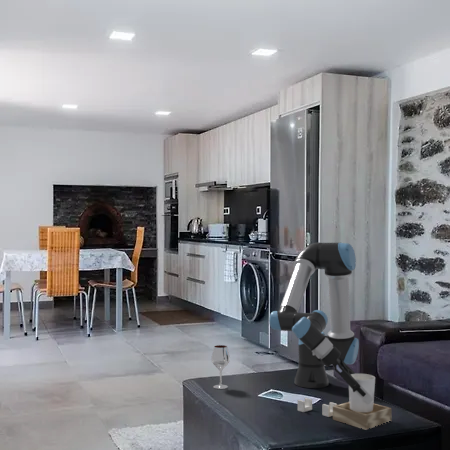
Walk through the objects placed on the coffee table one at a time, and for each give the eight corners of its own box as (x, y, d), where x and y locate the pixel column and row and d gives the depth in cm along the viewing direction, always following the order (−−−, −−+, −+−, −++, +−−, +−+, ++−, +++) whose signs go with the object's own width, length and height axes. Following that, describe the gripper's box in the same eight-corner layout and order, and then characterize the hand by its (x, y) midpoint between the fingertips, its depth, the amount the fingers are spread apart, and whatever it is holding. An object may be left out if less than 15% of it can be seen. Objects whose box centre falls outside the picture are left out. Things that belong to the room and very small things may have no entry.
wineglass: (218, 383, 277) (218, 344, 277) (233, 386, 272) (233, 346, 272) (207, 387, 270) (207, 346, 270) (222, 390, 265) (222, 349, 265)
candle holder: (375, 414, 219) (375, 380, 219) (347, 412, 221) (347, 379, 221) (374, 406, 228) (374, 374, 228) (347, 404, 230) (347, 372, 230)
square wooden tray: (358, 411, 235) (358, 399, 235) (391, 421, 224) (391, 408, 224) (332, 419, 226) (332, 406, 226) (365, 429, 214) (365, 416, 214)
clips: (311, 406, 242) (311, 396, 242) (337, 414, 232) (337, 403, 232) (297, 410, 237) (297, 400, 237) (323, 418, 227) (323, 407, 227)
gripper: (320, 353, 238) (362, 396, 235) (318, 366, 216) (364, 413, 213) (334, 340, 237) (376, 383, 234) (333, 351, 216) (380, 399, 213)
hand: (370, 397), depth 224 cm, fingers closed on candle holder, 9 cm apart
